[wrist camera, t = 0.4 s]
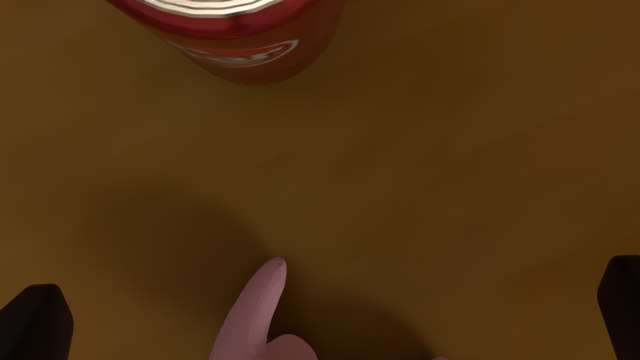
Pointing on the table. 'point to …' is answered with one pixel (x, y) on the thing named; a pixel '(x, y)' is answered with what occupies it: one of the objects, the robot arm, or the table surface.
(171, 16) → the soda can
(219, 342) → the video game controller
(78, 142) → the table surface
